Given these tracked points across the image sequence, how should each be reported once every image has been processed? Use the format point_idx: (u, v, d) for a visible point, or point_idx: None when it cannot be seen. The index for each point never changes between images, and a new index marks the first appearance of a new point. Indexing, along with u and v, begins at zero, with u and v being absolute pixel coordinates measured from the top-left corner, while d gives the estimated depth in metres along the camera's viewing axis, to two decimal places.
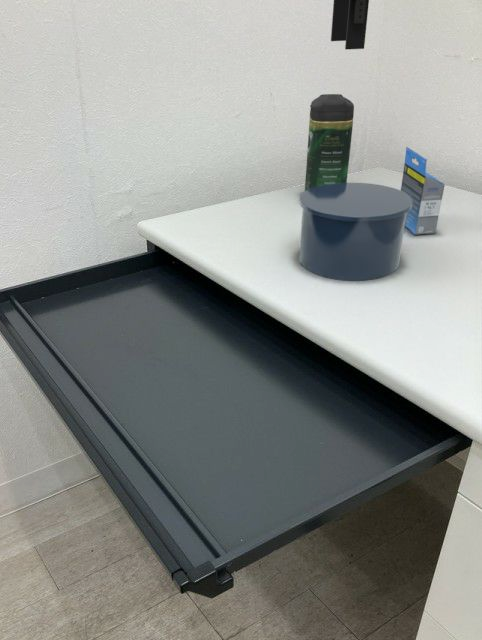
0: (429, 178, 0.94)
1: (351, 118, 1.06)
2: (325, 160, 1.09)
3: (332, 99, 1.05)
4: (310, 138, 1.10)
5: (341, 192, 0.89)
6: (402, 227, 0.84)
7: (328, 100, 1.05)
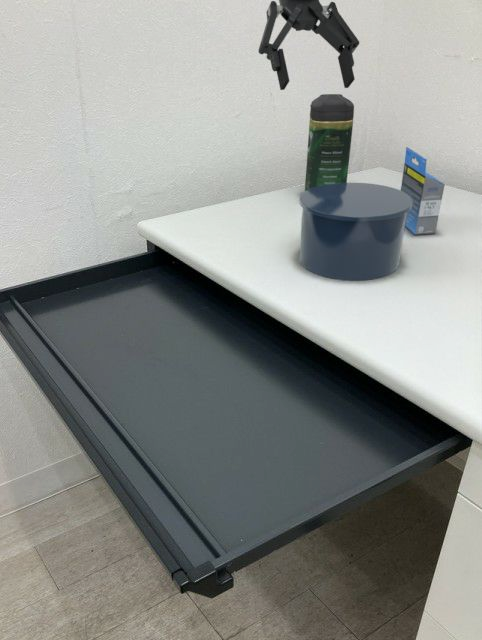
0: (429, 178, 0.94)
1: (351, 118, 1.06)
2: (325, 160, 1.09)
3: (333, 99, 1.05)
4: (310, 138, 1.10)
5: (341, 192, 0.89)
6: (402, 227, 0.84)
7: (328, 100, 1.05)
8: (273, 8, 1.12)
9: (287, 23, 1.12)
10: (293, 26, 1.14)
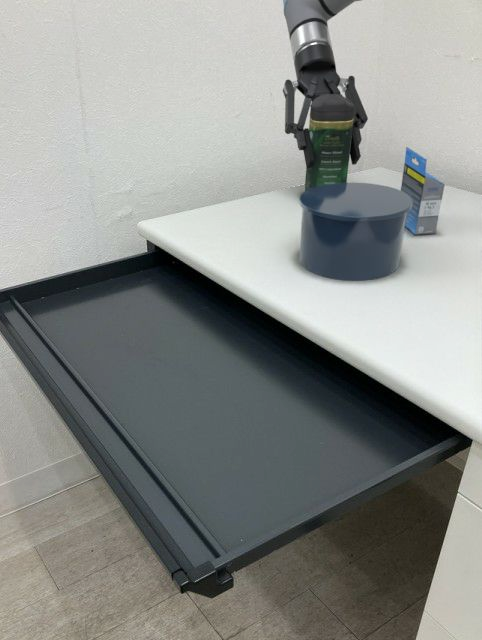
0: (429, 178, 0.94)
1: (351, 118, 1.06)
2: (325, 160, 1.09)
3: (333, 99, 1.05)
4: (310, 138, 1.10)
5: (341, 192, 0.89)
6: (402, 227, 0.84)
7: (328, 100, 1.05)
8: (289, 86, 1.11)
9: (306, 99, 1.11)
10: None
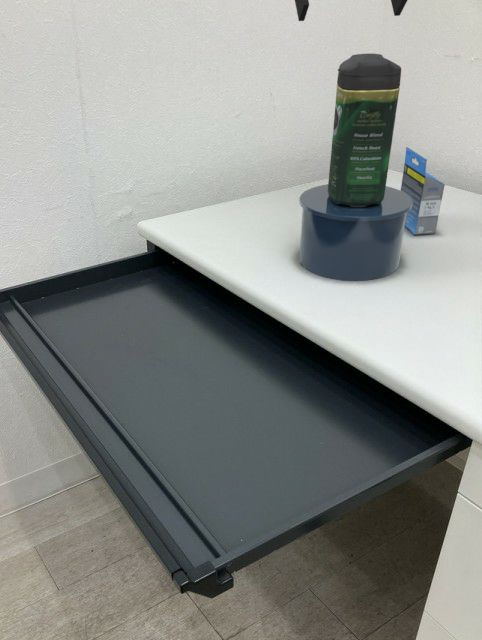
0: (429, 178, 0.94)
1: (397, 86, 0.75)
2: (359, 146, 0.78)
3: (372, 58, 0.74)
4: (338, 115, 0.79)
5: None
6: (402, 227, 0.84)
7: (365, 60, 0.74)
8: None
9: None
10: None
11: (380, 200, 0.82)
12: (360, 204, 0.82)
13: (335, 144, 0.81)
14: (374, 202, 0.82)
